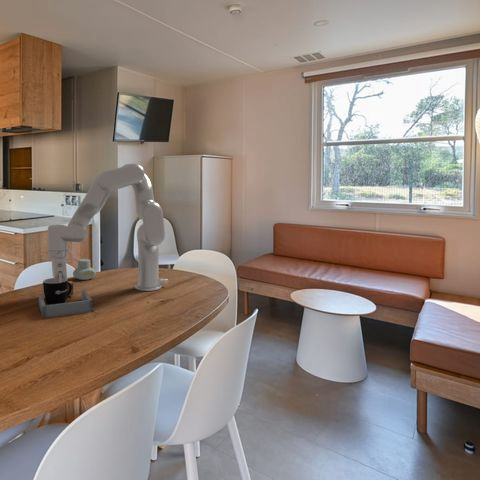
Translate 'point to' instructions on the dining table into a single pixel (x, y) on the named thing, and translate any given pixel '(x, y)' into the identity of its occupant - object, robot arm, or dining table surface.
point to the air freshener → (84, 270)
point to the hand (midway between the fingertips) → (59, 294)
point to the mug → (56, 290)
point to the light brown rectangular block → (72, 288)
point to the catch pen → (66, 306)
